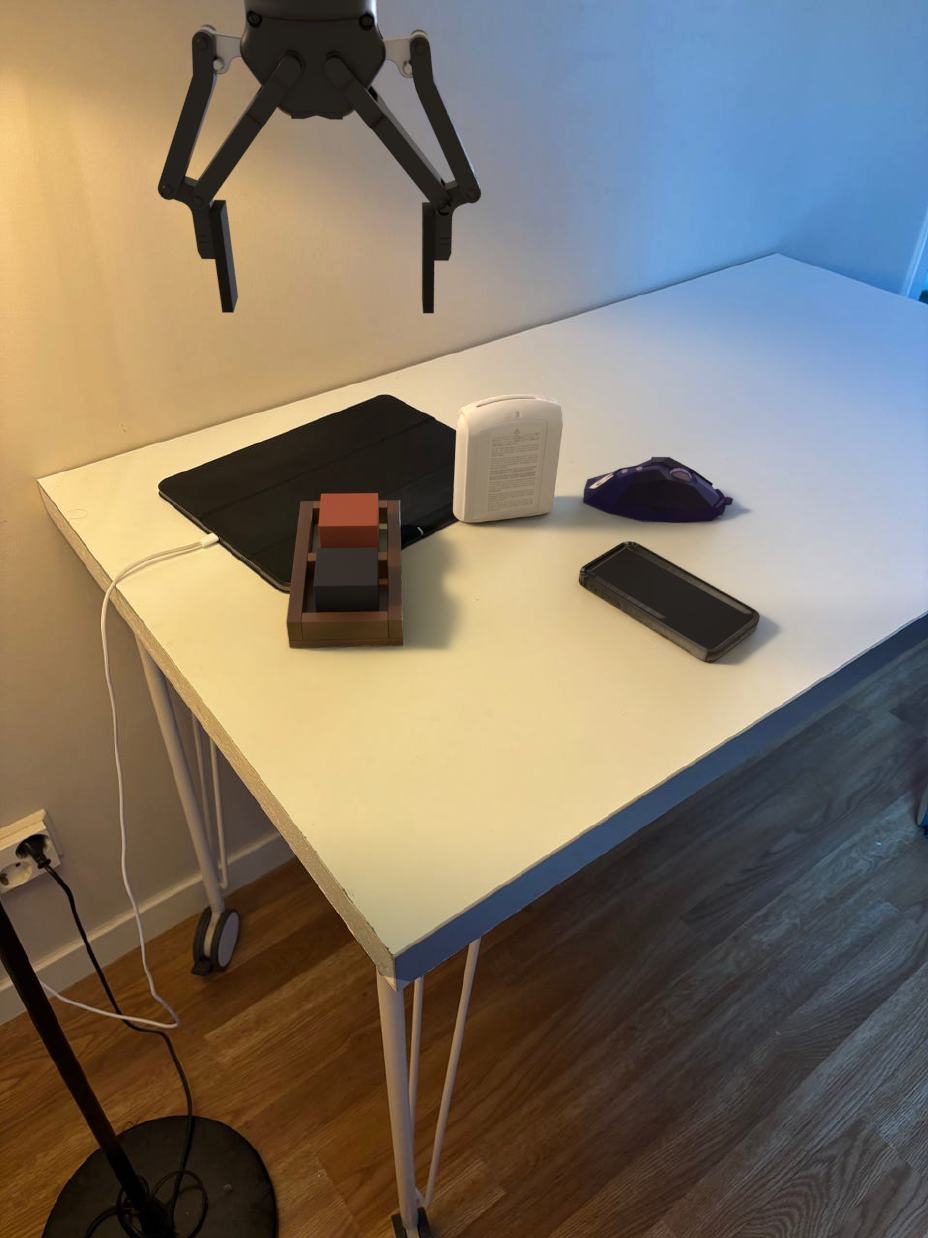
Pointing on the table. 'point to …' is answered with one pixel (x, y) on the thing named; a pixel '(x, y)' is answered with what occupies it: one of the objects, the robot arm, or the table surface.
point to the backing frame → (346, 626)
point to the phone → (669, 600)
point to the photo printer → (506, 457)
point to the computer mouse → (656, 493)
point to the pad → (349, 520)
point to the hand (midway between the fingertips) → (329, 305)
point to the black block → (346, 580)
